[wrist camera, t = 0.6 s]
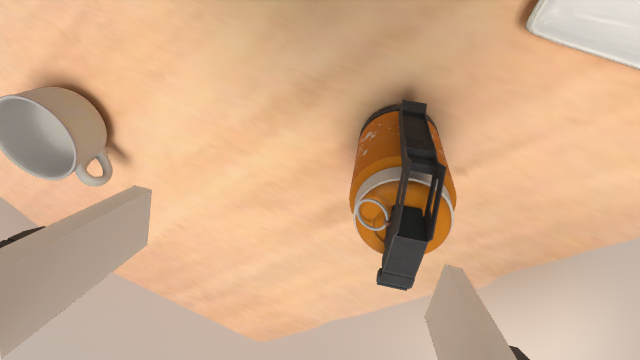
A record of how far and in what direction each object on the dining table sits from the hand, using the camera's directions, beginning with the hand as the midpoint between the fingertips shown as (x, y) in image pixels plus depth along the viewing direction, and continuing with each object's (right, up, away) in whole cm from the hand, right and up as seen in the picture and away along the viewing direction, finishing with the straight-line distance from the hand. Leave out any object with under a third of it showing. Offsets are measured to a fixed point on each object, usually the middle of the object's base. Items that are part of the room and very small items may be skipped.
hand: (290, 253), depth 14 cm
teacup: (-31, +11, +32) cm, 45 cm away
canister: (+11, +9, +24) cm, 28 cm away
